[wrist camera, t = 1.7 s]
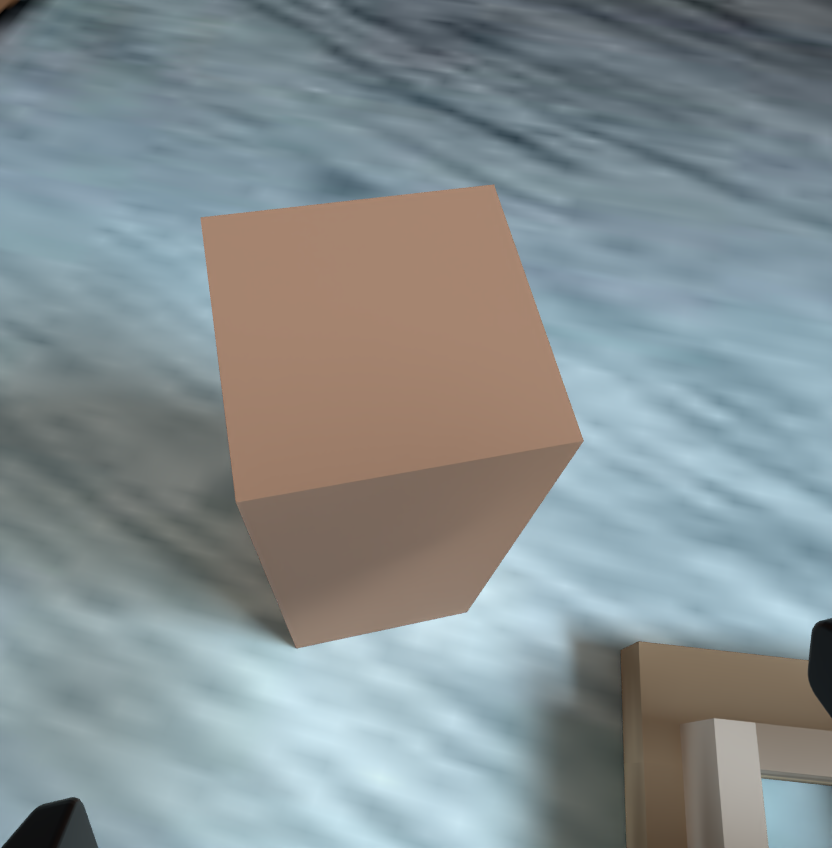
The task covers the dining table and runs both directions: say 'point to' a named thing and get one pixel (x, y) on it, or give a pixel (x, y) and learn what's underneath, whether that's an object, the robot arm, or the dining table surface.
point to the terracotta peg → (383, 402)
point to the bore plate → (714, 742)
